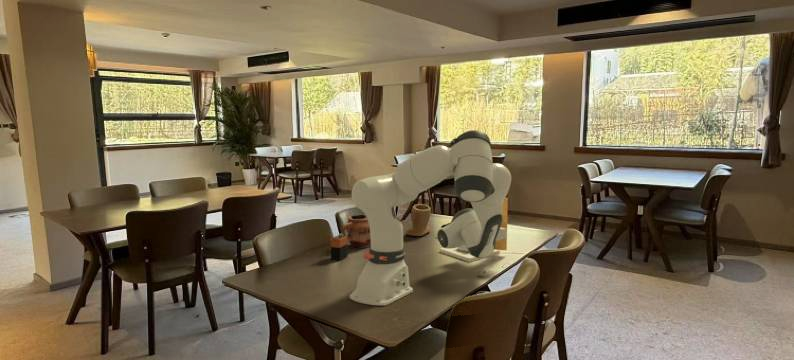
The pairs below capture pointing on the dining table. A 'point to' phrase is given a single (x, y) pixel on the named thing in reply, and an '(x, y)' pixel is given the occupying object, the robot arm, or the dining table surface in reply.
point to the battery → (339, 247)
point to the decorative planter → (357, 231)
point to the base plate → (465, 254)
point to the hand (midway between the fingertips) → (495, 227)
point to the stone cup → (419, 220)
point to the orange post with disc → (503, 242)
